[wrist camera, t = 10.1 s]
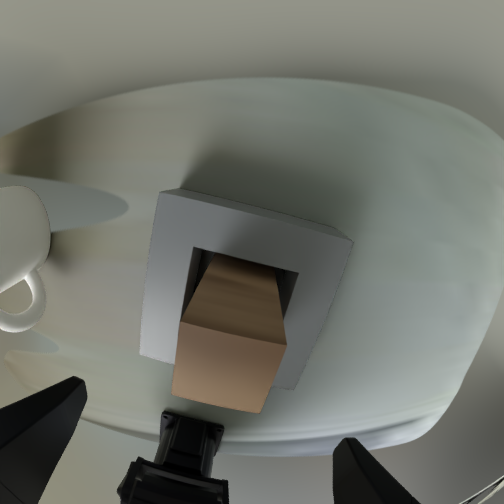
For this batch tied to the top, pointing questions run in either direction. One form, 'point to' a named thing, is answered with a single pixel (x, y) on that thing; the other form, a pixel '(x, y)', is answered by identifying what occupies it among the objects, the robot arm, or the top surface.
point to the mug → (23, 251)
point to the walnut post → (231, 336)
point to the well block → (245, 247)
